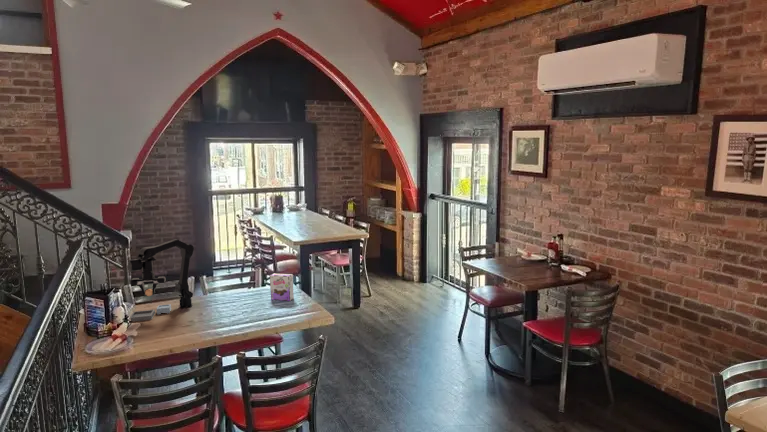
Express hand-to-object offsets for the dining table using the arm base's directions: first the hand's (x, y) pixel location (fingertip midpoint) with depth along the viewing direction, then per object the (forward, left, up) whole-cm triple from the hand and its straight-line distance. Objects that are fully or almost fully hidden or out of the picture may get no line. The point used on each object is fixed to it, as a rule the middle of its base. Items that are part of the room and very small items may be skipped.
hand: (149, 294), depth 313 cm
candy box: (-78, -6, -13) cm, 79 cm away
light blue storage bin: (-7, -4, -13) cm, 15 cm away
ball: (0, 0, +1) cm, 1 cm away
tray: (+4, +3, -13) cm, 14 cm away
